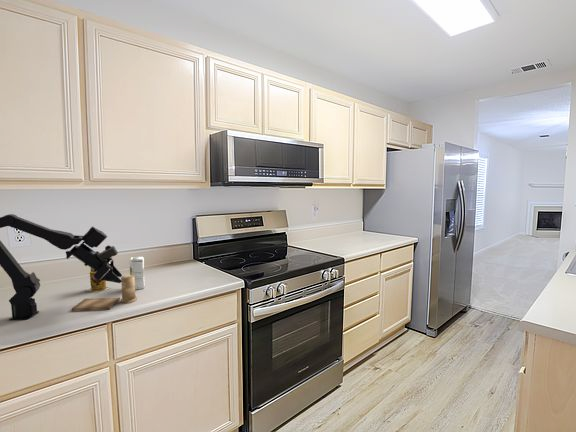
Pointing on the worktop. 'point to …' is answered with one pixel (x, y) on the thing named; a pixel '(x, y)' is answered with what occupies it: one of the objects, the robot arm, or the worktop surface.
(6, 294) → the worktop surface
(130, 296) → the wooden chess pawn
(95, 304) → the walnut board
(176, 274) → the worktop surface
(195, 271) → the worktop surface
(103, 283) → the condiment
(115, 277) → the robot arm
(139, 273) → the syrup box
